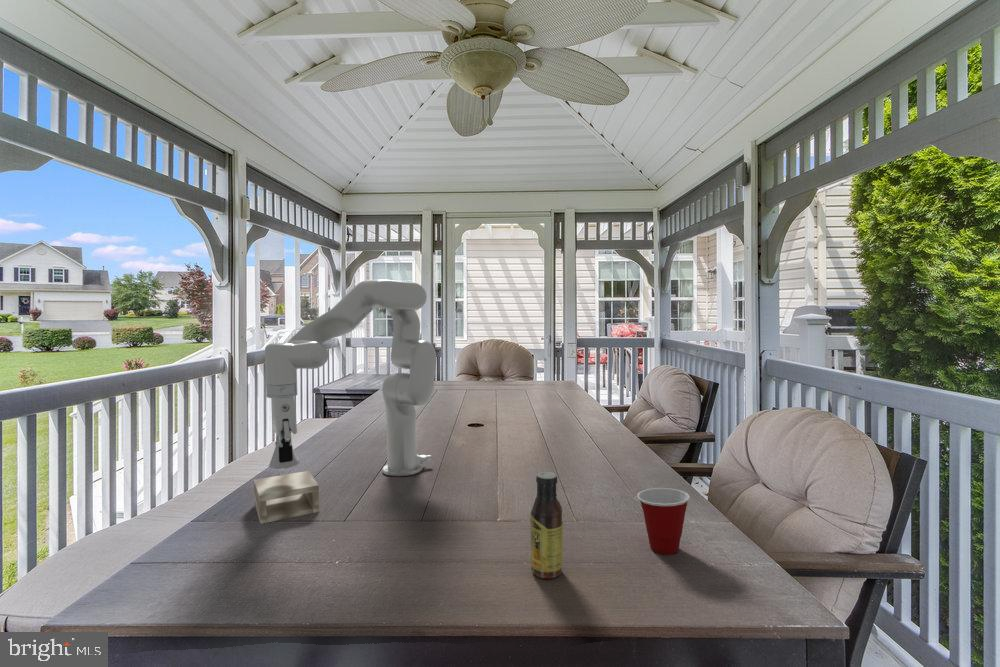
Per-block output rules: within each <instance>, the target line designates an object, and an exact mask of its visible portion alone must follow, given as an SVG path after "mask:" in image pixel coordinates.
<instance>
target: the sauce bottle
mask: <svg viewBox="0 0 1000 667" xmlns="http://www.w3.org/2000/svg"><path fill="white" fill-rule="evenodd" d="M535 478H536V480H535V481H536V497H535V498H534V500H535V501H534V503H533V505H532V509H531V511H530V564H531V571H532V573H533V574H534V576H536V577H537V578H539V579H555V578H557V577H560V576H561V574H562V570H563V548H564V547H563V545H564V544H563V543H564V542H563V540H564V539H563V535H564V534H563V533H564V532H563V528H564V525H563V524H564V523H563V522H564V521H563V507H562V505H561V503H560V501H558V499H557V497H558V496H557V495H558V494H557V483H558V475H557V474H556V473H555V472H551V471H541V472H538V473H537V474H536V476H535Z"/></svg>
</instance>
